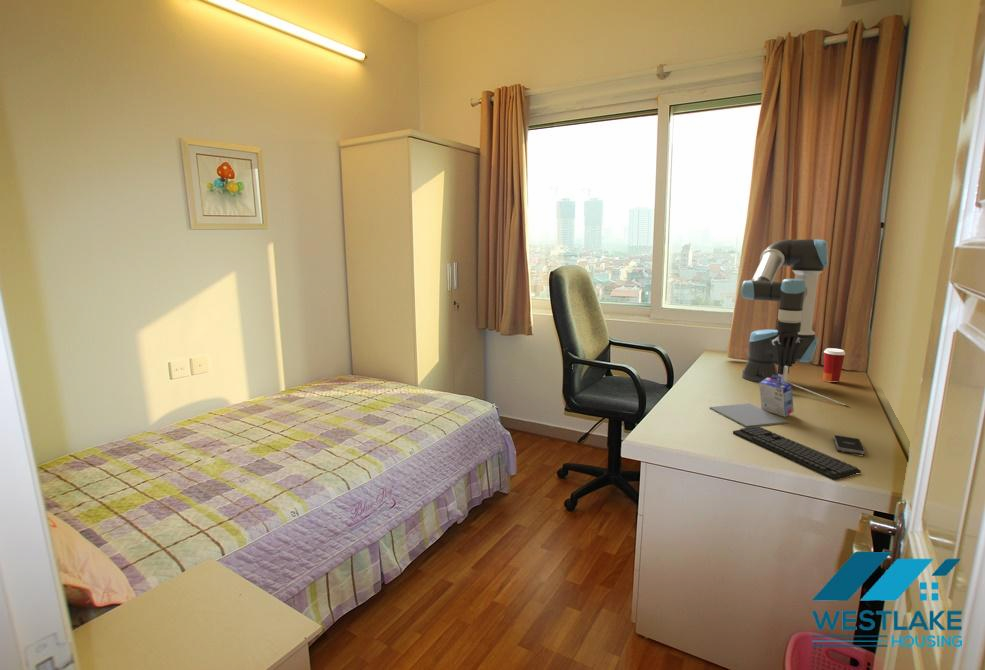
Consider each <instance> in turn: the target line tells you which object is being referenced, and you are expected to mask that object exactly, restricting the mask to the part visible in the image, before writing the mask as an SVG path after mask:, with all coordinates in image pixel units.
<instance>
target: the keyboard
mask: <svg viewBox="0 0 985 670" xmlns="http://www.w3.org/2000/svg"><path fill="white" fill-rule="evenodd" d="M732 434H733V435H735V436H736V437H739V438H741V439H744V440H745V441H747V442H749V443H752V444H754V445H756V446H759V447H761V448H762V449H765V450H768V451H769V452H772V453H774V454H776V455H778V456H780V457H782V458H785V459H787V460H789V461H791V462H793V463H796V464H798V465H800V466H802V467H804V468H806V469H808V470H810V471H813V472H815V473H817V474H820V475H821V476H824V477H826V478H828V479H830V480H833V481H836V480H837V481H838V480H841V479H845V478H848V477H847V476H849V477H851V476H850V475H853V474H856V473H860V474H861V472H862V470H860V469H859V468H858V467H856V466H855V465H852V464H850V463H847V462H845V461H842V460H840V459H838V458H835V457H834V456H831V455H828V454H826V453H823V452H821V451H819V450H817V449H814V448H811V447H809V446H806V445H804V444H802V443H799V442H797V441H795V440H792V439H789V438H787V437H785V436H782V435H780V434H777V433H775V432H773V431H771V430H768V429H766V428H763V427H762V426H753V427H747V428H746V427H744V428H743V427H742V428H740V429H738V430H732ZM853 476H854V475H853ZM844 477H845V478H844ZM840 478H841V479H840Z"/></svg>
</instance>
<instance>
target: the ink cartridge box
mask: <svg viewBox="0 0 985 670" xmlns="http://www.w3.org/2000/svg"><path fill="white" fill-rule="evenodd" d="M773 377H777V378H778V379H779V380H776V379H773ZM788 382H789V381H788ZM788 382H784V381H781V377H780V376H777V375H773V374H772V377H771V378H768V377H767V378H765V379H764V380H762V381H761V382H758V385H759V395H760V396H759V397H760V406H761V407H760V409H763V410H765V411H767V412H769V413H772V414H774V415H777V416H781V417H787V416H789V415H790V414H793V413H794V412H795V410H794V401H793V400H794V397H793V385H792V384H791V383H792V382H790V383H788Z"/></svg>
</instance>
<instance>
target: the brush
mask: <svg viewBox="0 0 985 670" xmlns="http://www.w3.org/2000/svg"><path fill="white" fill-rule="evenodd" d="M787 382H788V383H791V384H792V387H793V386H794V387H796V388H798V389H801V390H804V391H806V392H809V393H811V394H814V395H817V396H819V397H821V398H824V399H826V400H828V401H832V402H834V403H836V404H839V405H841V404H843V405H842V406H844V405H847V404H845V403H843V402H841V401H837V400H835V399H832V398H830V397H828V396H825V395H822V394H820V393H818V392H816V391H815V392H814V391H812V390H810V389H807V388H804V387H802V386H799V385H797V384H794V383H792V382H790V381H788V380H787Z"/></svg>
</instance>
